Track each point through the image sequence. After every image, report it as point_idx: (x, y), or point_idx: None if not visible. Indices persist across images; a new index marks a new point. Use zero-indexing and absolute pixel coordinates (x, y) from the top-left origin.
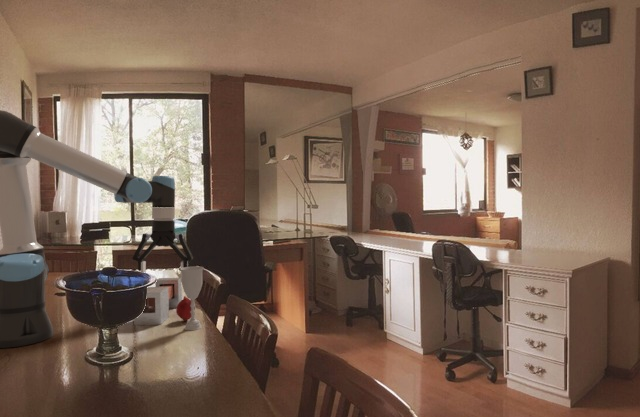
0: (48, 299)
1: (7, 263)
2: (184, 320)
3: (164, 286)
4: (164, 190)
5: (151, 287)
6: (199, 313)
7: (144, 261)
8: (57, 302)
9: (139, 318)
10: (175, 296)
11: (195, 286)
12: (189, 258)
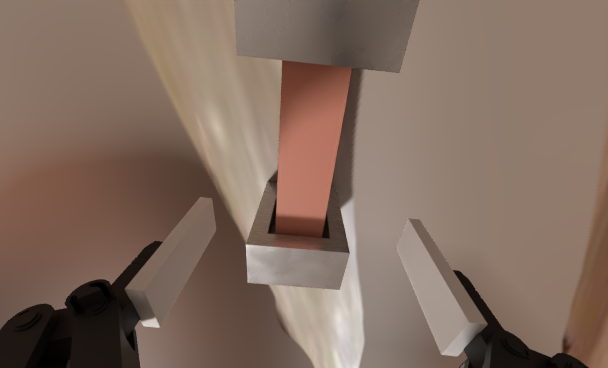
0: (595, 316)
1: None
2: None
3: (306, 218)
4: None
5: (346, 49)
6: (170, 86)
7: (452, 346)
8: (584, 291)
9: None
10: (271, 202)
11: None
12: (29, 317)
